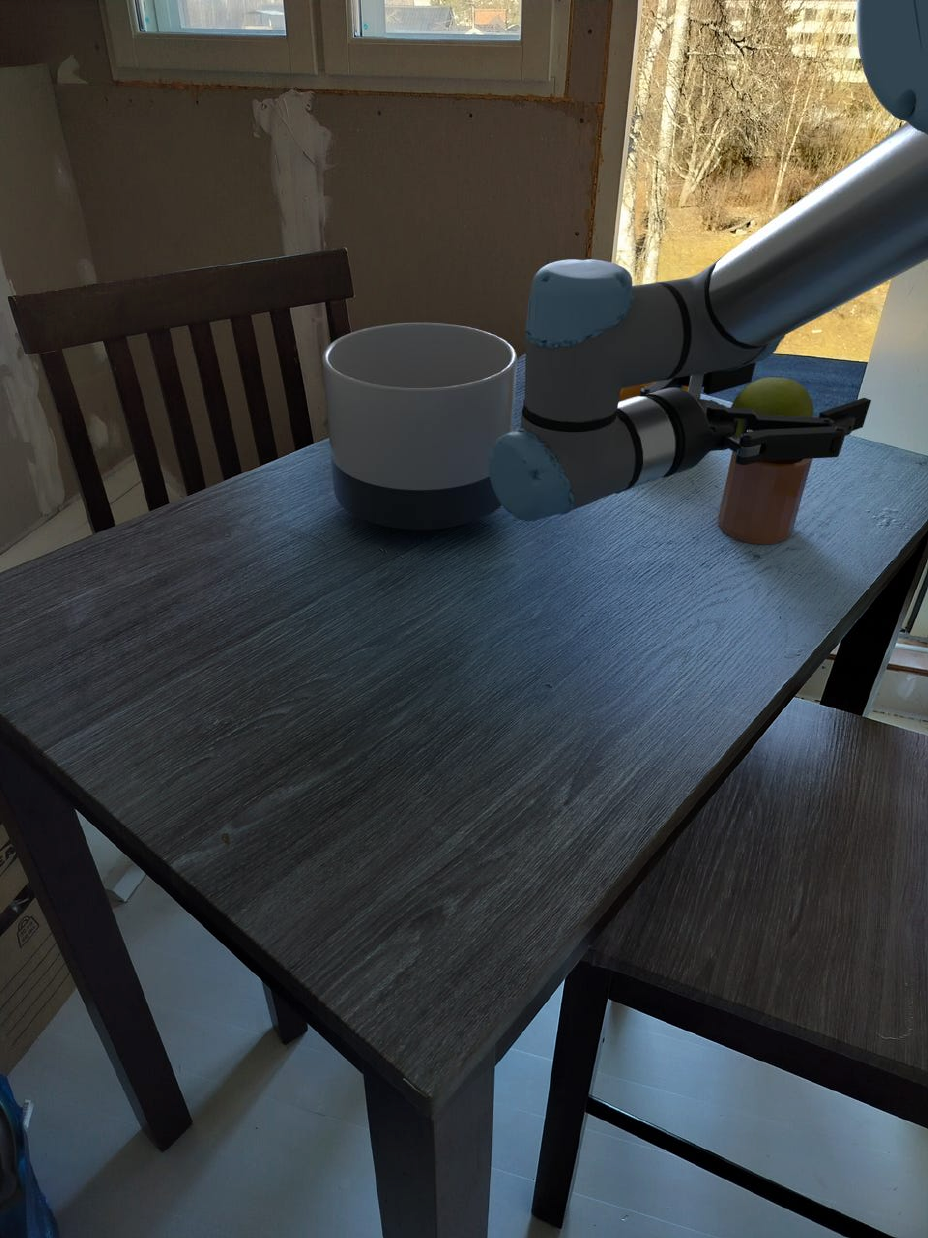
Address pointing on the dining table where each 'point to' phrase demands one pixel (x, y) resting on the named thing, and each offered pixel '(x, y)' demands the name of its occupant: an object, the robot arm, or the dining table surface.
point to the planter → (417, 422)
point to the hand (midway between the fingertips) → (804, 389)
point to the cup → (762, 499)
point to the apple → (774, 399)
